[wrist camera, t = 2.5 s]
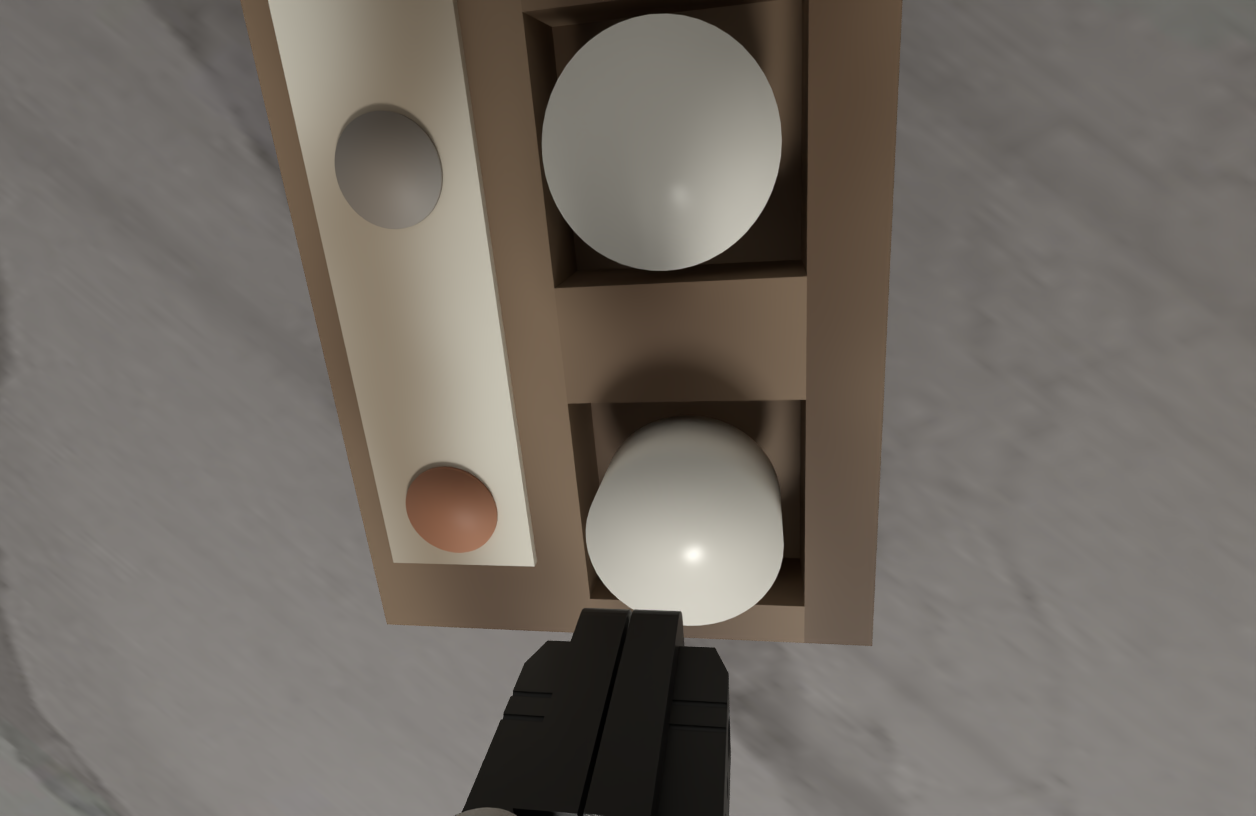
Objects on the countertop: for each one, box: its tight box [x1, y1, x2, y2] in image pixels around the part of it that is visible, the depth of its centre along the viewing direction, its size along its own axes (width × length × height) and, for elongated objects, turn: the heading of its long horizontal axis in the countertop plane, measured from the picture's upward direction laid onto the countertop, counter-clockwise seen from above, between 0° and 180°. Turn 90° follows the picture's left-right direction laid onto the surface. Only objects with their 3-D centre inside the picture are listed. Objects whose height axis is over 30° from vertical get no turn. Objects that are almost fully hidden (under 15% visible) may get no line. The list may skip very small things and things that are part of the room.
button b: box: [542, 14, 782, 271], centre depth 13 cm, size 4×4×2 cm
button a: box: [586, 415, 784, 626], centre depth 15 cm, size 4×4×2 cm
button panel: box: [240, 0, 902, 646], centre depth 15 cm, size 12×22×3 cm, turn 5°
